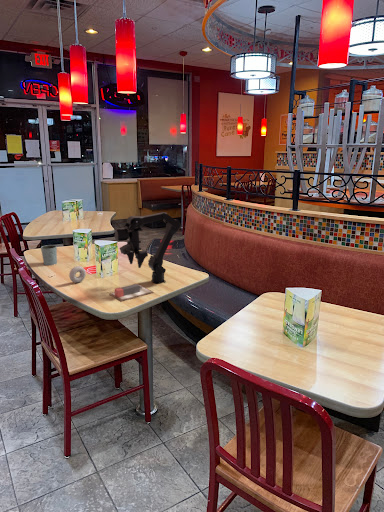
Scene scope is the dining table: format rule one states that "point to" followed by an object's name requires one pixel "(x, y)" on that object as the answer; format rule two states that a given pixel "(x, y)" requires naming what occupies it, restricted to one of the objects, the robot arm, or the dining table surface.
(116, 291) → the marker
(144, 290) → the picture frame
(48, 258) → the gray cup
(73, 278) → the donut
